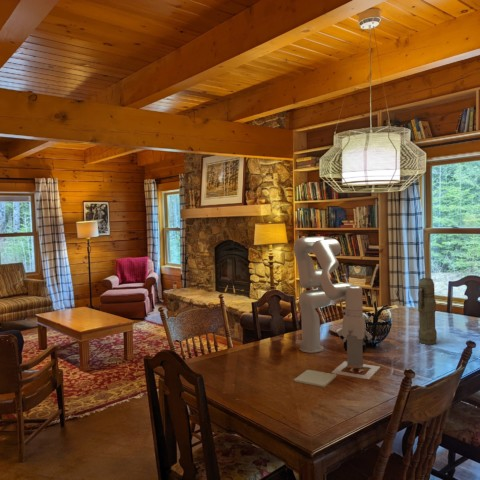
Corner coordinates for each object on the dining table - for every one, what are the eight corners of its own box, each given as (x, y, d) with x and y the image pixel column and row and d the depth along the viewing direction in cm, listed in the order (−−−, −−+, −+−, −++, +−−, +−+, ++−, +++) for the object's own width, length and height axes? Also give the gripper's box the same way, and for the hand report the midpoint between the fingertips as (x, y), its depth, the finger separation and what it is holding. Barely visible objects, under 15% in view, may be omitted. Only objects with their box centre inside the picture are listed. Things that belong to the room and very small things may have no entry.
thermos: (441, 342, 236) (439, 277, 234) (430, 346, 228) (429, 280, 226) (425, 339, 242) (423, 276, 241) (414, 343, 235) (412, 279, 233)
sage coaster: (293, 381, 188) (293, 379, 188) (307, 371, 199) (307, 369, 199) (324, 387, 180) (324, 385, 180) (336, 376, 192) (336, 374, 192)
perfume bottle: (362, 366, 194) (362, 326, 193) (347, 365, 196) (346, 326, 195) (362, 361, 201) (361, 322, 200) (347, 360, 203) (346, 322, 201)
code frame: (331, 373, 196) (331, 372, 196) (344, 362, 210) (344, 361, 210) (368, 379, 186) (368, 378, 186) (380, 367, 200) (380, 366, 200)
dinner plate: (327, 327, 277) (327, 322, 277) (371, 326, 275) (371, 321, 274) (332, 339, 250) (331, 333, 250) (381, 338, 247) (380, 333, 247)
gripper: (332, 312, 199) (333, 350, 200) (370, 316, 189) (371, 356, 190) (338, 309, 205) (339, 346, 206) (375, 313, 195) (376, 351, 197)
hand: (354, 351), depth 198 cm, fingers closed on perfume bottle, 6 cm apart
